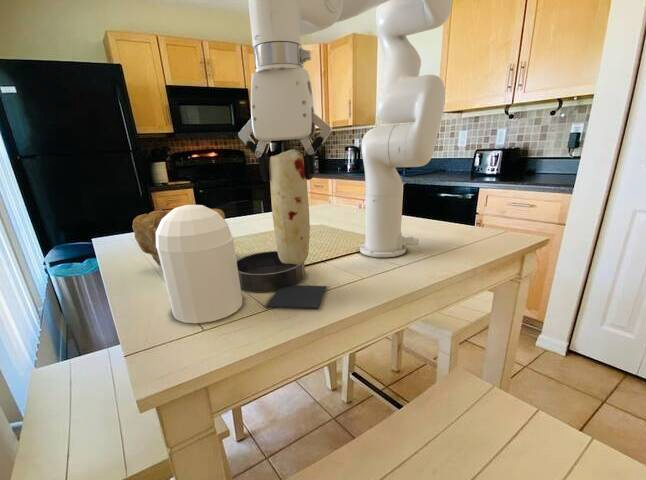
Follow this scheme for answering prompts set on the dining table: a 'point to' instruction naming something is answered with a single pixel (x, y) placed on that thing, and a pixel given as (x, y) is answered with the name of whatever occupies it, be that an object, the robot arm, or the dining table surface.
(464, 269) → the dining table surface
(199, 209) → the container
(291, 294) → the mat
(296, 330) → the dining table surface
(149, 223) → the rough brown rock
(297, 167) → the food model
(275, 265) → the pan
